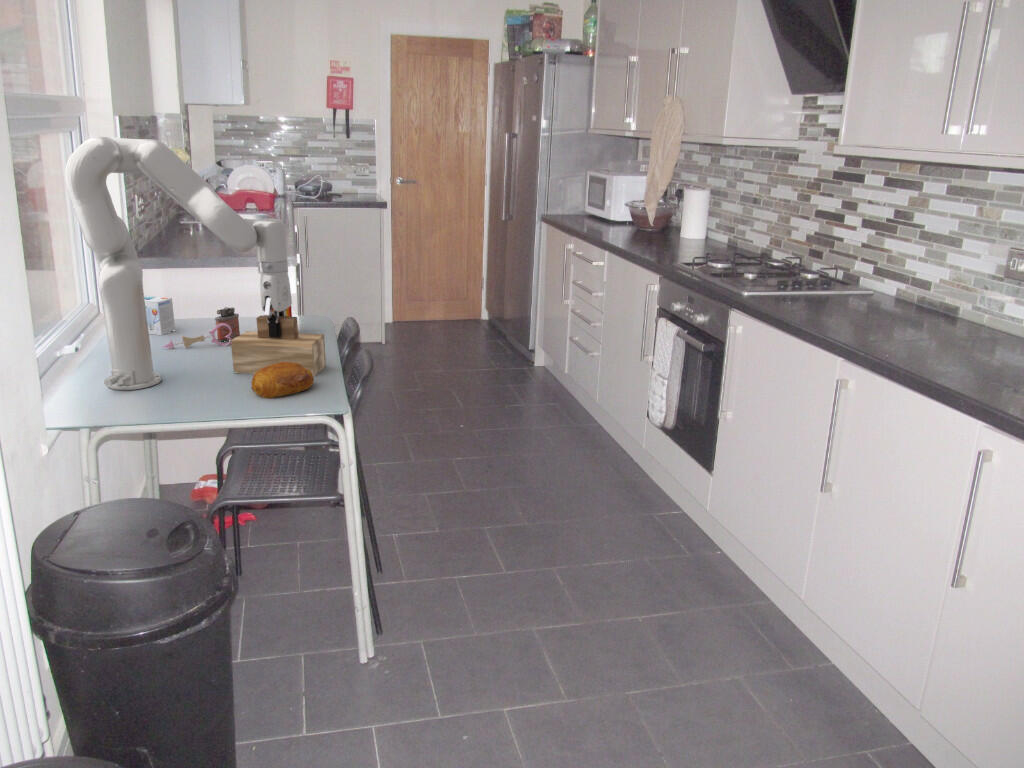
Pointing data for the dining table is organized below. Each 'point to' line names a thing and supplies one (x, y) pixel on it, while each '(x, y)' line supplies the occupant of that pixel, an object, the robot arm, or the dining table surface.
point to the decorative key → (201, 338)
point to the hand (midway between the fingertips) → (278, 334)
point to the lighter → (227, 318)
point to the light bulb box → (159, 315)
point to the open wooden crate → (277, 357)
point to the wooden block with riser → (287, 331)
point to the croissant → (281, 379)
